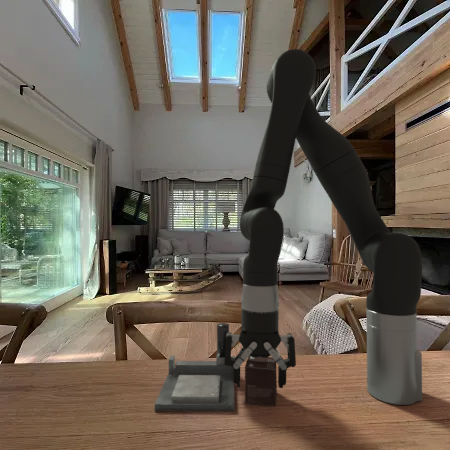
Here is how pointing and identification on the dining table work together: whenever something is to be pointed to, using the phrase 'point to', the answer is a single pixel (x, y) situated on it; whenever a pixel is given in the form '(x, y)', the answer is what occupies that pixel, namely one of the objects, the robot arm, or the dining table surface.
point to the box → (260, 381)
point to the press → (197, 387)
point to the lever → (221, 342)
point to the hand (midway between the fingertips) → (259, 385)
